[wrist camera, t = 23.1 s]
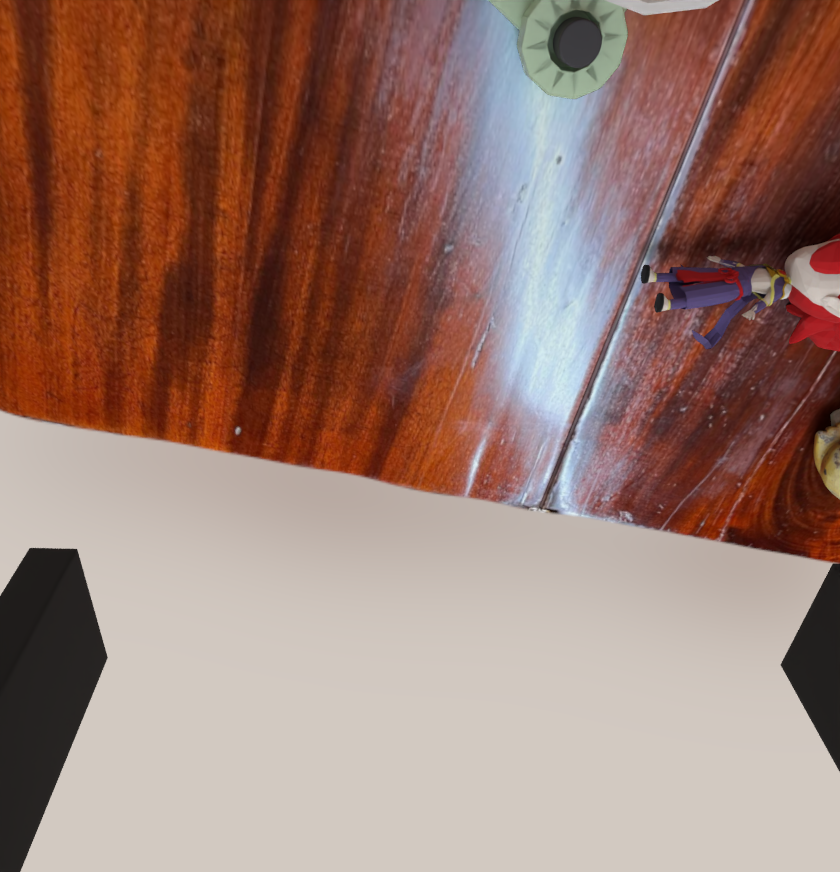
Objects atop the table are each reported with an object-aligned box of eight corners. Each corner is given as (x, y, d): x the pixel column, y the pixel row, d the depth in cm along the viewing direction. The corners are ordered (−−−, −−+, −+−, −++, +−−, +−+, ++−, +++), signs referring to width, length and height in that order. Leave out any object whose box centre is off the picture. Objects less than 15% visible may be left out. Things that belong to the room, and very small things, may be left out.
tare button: (573, 73, 35) (580, 77, 33) (543, 45, 34) (549, 48, 33) (603, 36, 34) (611, 39, 33) (573, 6, 33) (580, 8, 32)
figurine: (645, 209, 40) (909, 193, 40) (620, 328, 46) (850, 314, 46) (680, 273, 35) (977, 255, 36) (647, 396, 42) (901, 380, 42)
